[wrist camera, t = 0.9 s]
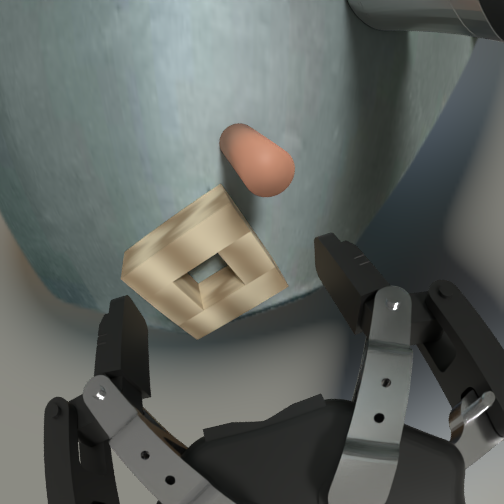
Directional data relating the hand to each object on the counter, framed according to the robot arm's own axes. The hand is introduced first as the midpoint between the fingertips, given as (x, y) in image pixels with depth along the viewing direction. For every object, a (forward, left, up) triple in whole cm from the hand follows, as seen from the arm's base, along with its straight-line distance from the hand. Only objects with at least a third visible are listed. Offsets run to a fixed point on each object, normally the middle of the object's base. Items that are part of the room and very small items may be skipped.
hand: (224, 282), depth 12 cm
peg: (-5, +2, -20) cm, 21 cm away
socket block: (+6, +12, -20) cm, 25 cm away
